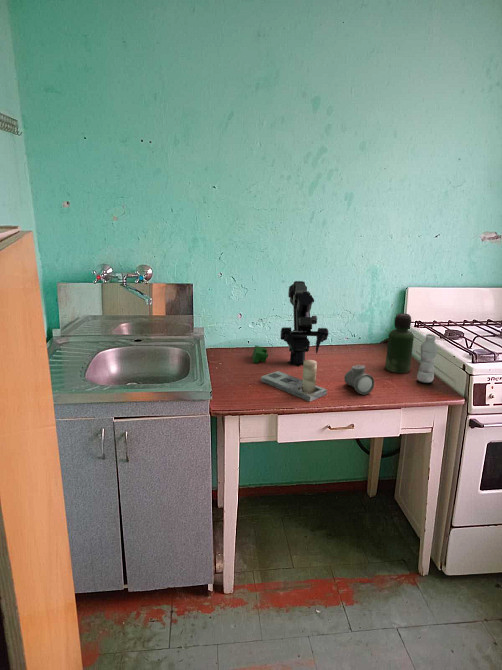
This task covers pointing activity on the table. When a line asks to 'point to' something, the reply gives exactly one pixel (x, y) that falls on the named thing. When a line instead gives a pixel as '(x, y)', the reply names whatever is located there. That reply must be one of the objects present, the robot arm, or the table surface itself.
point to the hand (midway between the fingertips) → (305, 352)
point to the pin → (309, 376)
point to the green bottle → (400, 345)
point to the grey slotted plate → (292, 385)
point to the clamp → (259, 354)
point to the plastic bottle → (427, 359)
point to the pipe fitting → (359, 379)
